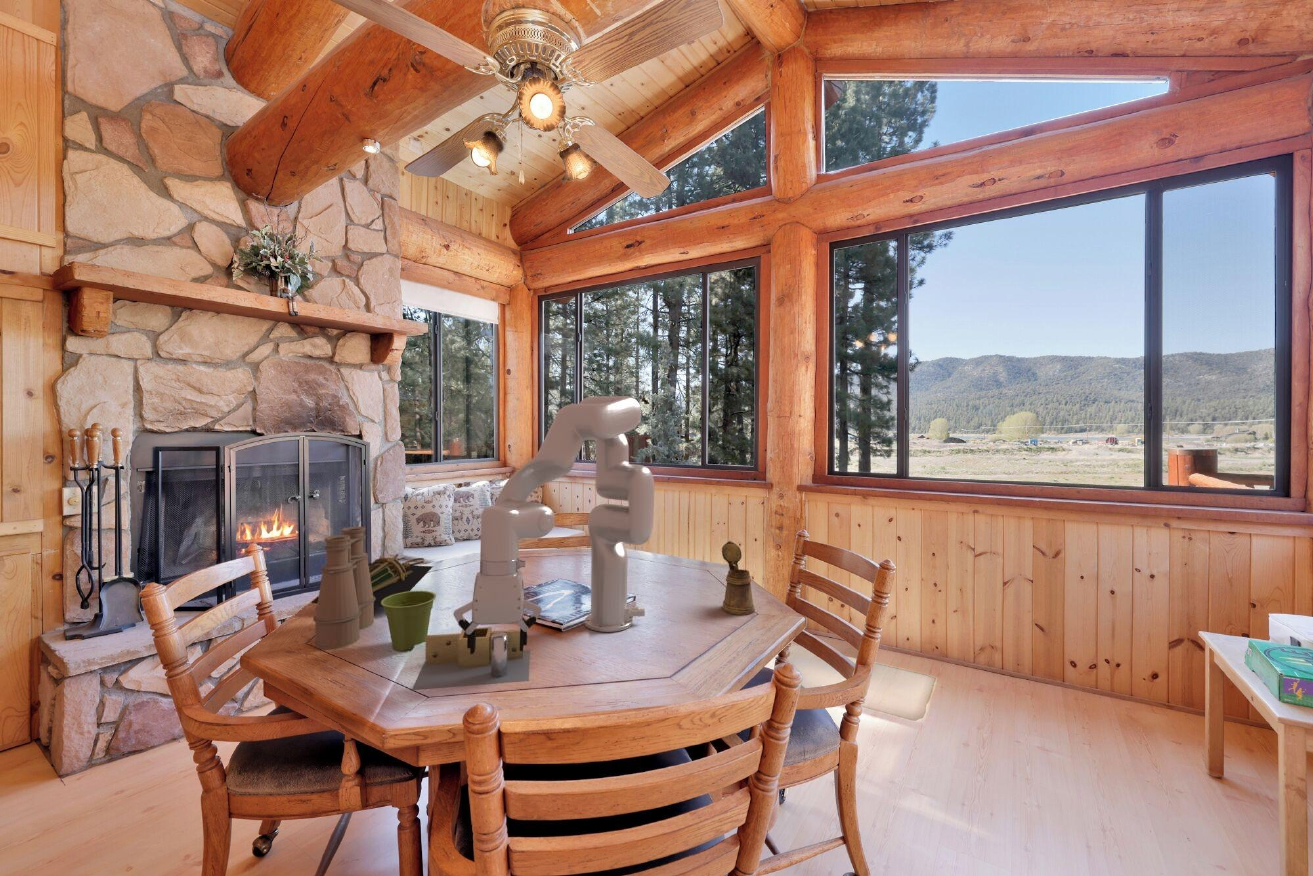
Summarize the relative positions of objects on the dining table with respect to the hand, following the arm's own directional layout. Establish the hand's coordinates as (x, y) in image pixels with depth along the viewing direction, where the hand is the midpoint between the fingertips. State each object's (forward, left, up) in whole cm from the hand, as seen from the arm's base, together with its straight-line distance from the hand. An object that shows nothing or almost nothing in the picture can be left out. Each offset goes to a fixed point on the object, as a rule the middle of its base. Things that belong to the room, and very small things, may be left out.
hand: (497, 650), depth 113 cm
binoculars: (+39, -33, -7) cm, 51 cm away
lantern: (+38, -60, -7) cm, 71 cm away
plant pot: (+22, -22, -7) cm, 31 cm away
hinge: (+5, -8, -5) cm, 11 cm away
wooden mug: (-64, -35, -7) cm, 73 cm away
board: (+5, -4, -6) cm, 9 cm away
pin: (0, 0, -5) cm, 5 cm away
